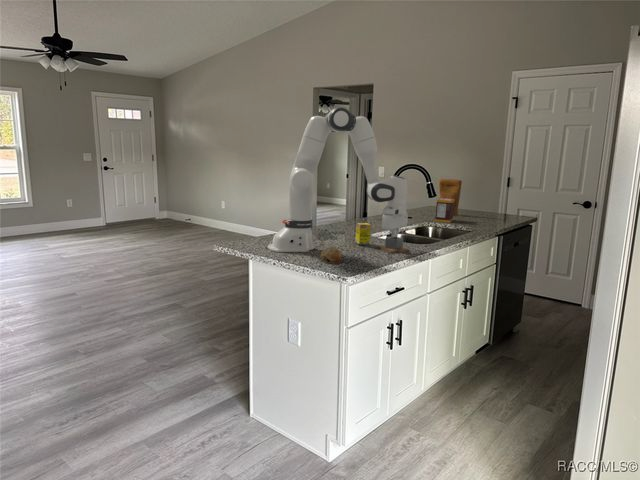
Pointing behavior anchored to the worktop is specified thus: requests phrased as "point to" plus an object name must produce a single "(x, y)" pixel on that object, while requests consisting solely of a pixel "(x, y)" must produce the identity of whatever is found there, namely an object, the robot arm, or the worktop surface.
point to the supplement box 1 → (363, 234)
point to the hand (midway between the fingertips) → (394, 237)
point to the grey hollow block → (394, 242)
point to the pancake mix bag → (450, 191)
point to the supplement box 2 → (445, 210)
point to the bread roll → (331, 255)
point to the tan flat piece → (393, 249)
